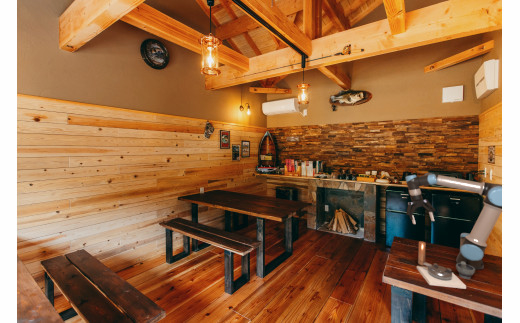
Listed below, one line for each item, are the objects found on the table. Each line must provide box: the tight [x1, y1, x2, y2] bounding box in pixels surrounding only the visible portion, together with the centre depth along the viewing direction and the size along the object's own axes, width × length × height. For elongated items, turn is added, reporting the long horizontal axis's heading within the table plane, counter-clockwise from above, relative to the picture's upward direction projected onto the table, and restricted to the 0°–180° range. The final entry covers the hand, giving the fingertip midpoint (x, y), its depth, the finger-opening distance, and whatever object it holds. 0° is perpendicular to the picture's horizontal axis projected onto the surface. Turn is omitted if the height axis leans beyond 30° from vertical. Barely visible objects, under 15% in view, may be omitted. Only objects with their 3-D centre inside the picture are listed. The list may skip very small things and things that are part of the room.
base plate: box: [416, 265, 467, 290], centre depth 157 cm, size 20×20×2 cm
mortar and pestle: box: [455, 261, 476, 280], centre depth 158 cm, size 11×9×12 cm
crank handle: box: [417, 240, 453, 281], centre depth 159 cm, size 20×13×19 cm, turn 33°
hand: (423, 222), depth 177 cm, fingers open, 13 cm apart
